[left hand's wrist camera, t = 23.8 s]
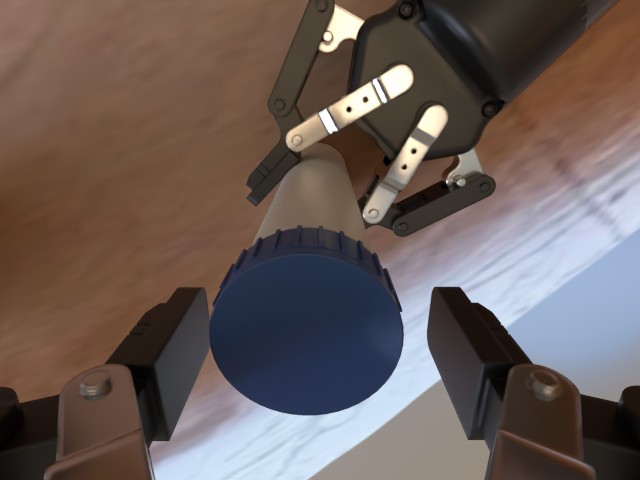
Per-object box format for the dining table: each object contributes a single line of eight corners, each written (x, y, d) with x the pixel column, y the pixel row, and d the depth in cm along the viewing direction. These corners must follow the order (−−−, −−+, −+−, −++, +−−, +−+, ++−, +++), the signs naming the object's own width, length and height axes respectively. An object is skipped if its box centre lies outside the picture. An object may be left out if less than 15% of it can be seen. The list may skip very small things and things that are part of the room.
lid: (426, 266, 10) (446, 300, 8) (347, 392, 11) (350, 441, 10) (261, 193, 9) (248, 214, 7) (201, 338, 10) (179, 380, 9)
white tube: (307, 131, 26) (273, 213, 8) (356, 161, 27) (424, 297, 9) (280, 180, 28) (197, 346, 10) (327, 208, 28) (335, 409, 10)
